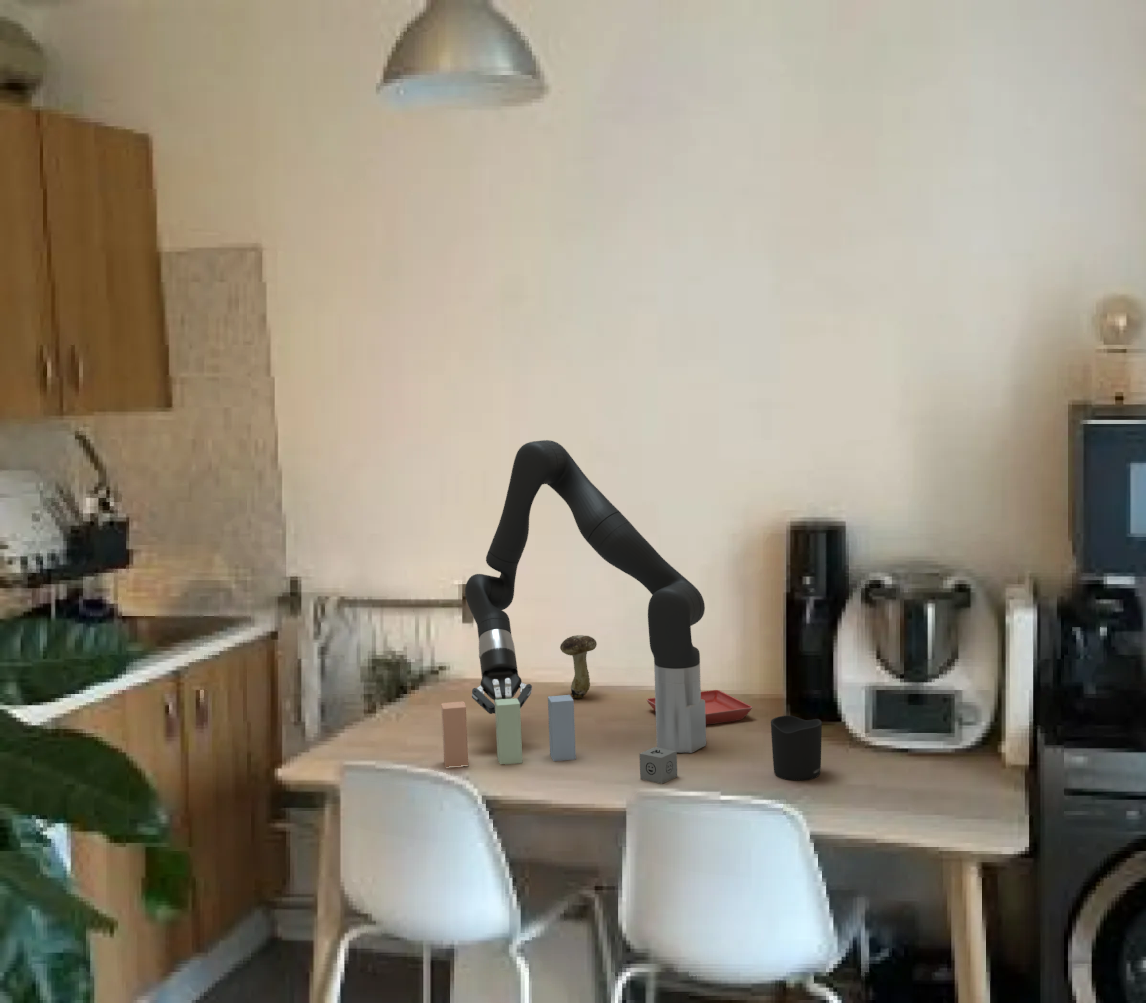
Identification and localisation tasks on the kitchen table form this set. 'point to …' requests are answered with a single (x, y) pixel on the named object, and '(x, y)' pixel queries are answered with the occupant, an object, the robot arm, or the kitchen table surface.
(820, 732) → the pen holder
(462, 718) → the terracotta block
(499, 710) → the sage green block
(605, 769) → the kitchen table surface
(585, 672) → the mushroom
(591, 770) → the kitchen table surface
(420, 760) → the kitchen table surface
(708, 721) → the red square tray
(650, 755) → the dice cube
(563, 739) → the slate blue block
